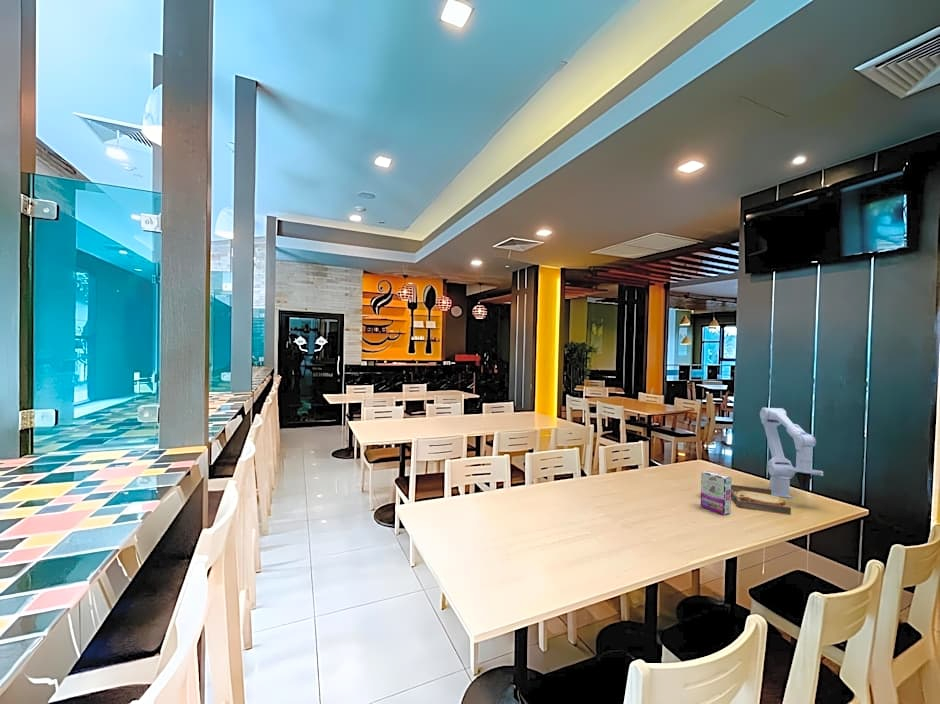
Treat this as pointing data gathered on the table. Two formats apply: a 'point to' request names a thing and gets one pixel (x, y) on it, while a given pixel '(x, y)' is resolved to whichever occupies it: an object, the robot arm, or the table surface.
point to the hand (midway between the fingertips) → (802, 488)
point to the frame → (757, 505)
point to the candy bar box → (716, 492)
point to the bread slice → (760, 498)
